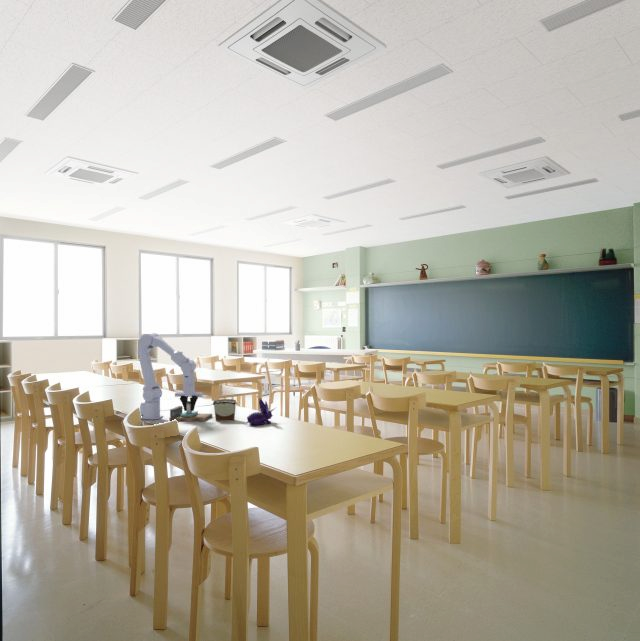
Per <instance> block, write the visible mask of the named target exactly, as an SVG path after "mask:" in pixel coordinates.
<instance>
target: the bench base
mask: <svg viewBox="0 0 640 641" xmlns="http://www.w3.org/2000/svg"><path fill="white" fill-rule="evenodd" d="M182 413H183V405H178V406H175V407H174V408H173V407H172V408H170V409H169V417H168V418H169V419H168V420H174V419H176V420H178V421H177V422H195V421H199V422H200V423H201V422H202V423H203V422H206V421H207V420H209V419H211V418H213V413H198V414H196V415H194V416H192V417H180V414H182Z"/></svg>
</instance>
